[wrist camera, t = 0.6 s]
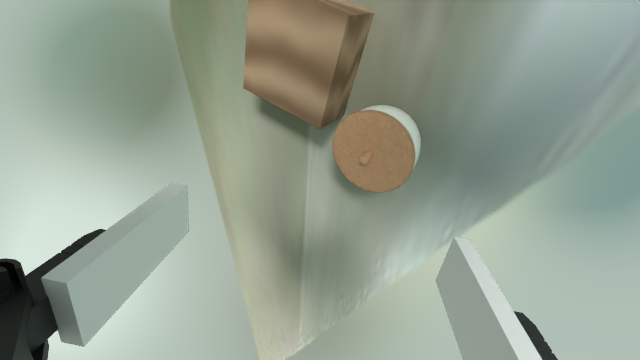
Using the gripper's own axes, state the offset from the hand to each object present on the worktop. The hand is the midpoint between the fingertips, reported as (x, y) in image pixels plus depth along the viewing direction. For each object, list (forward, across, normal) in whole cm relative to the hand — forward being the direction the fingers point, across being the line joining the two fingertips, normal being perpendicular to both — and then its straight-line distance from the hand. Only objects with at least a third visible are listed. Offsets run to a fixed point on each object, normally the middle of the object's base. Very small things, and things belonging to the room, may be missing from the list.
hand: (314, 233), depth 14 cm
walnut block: (+34, -5, +7) cm, 35 cm away
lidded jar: (+30, +8, -2) cm, 31 cm away
